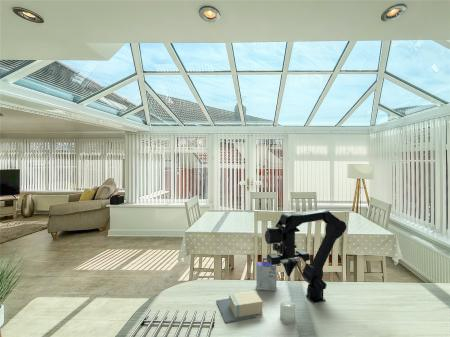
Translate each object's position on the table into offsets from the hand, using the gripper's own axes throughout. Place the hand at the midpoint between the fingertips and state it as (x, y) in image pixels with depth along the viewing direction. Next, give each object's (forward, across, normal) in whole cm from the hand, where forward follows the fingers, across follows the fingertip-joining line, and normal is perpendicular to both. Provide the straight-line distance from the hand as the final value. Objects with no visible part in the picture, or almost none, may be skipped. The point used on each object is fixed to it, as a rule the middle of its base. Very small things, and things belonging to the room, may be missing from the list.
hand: (288, 275), depth 117 cm
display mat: (+12, +24, -2) cm, 28 cm away
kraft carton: (+10, +14, 0) cm, 17 cm away
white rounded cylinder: (+13, +6, +10) cm, 17 cm away
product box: (+13, +4, -15) cm, 20 cm away
